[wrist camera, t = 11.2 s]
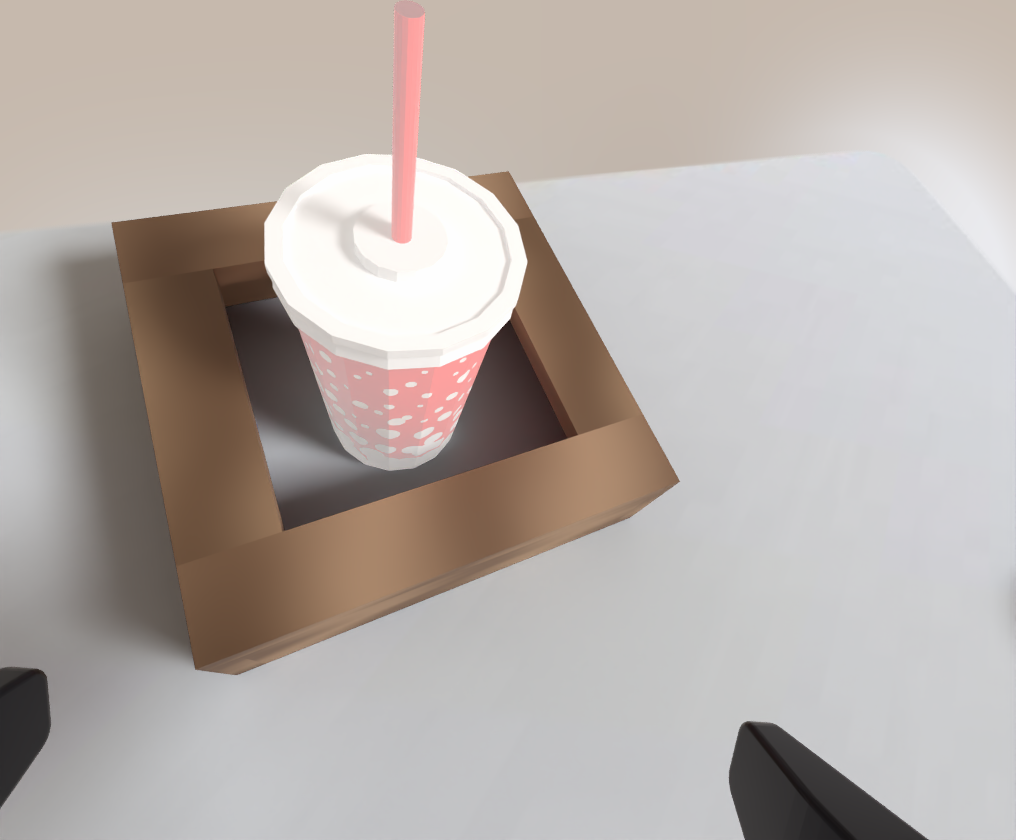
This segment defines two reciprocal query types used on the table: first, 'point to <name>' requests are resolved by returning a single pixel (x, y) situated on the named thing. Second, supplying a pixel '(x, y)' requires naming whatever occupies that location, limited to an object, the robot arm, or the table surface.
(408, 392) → the beverage cup
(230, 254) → the walnut box
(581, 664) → the table surface
